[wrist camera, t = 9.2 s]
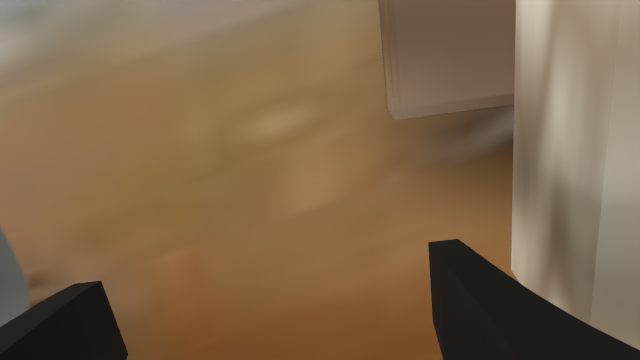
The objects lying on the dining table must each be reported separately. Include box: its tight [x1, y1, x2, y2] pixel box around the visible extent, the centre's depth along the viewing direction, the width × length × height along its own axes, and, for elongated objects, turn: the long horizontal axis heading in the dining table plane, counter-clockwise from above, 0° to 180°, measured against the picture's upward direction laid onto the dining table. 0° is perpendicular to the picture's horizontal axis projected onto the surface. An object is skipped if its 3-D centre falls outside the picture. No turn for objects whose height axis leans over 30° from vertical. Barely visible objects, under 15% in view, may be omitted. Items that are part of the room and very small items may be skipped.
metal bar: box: [511, 0, 640, 350], centre depth 11 cm, size 16×3×5 cm, turn 8°
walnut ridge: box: [378, 0, 516, 120], centre depth 15 cm, size 5×10×4 cm, turn 98°
